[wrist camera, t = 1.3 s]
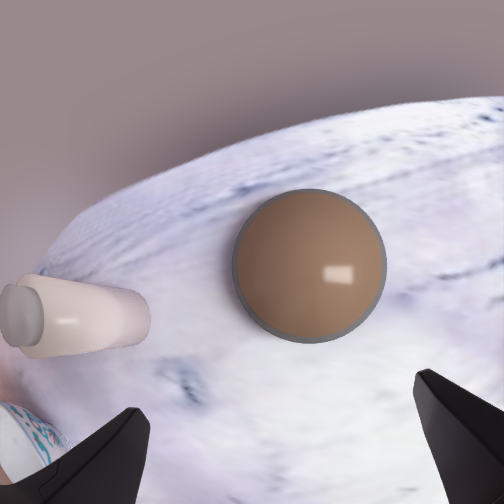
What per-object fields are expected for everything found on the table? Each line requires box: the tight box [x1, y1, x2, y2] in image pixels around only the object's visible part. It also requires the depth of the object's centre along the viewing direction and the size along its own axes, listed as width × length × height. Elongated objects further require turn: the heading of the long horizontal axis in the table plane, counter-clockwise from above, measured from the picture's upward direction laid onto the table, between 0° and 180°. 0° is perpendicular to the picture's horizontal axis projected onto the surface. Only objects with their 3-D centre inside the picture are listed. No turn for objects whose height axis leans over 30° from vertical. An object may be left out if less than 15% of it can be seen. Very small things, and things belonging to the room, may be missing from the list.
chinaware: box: [0, 401, 71, 484], centre depth 19 cm, size 15×15×8 cm
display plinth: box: [232, 189, 387, 344], centre depth 21 cm, size 12×12×2 cm
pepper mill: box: [0, 274, 151, 359], centre depth 17 cm, size 5×5×13 cm
